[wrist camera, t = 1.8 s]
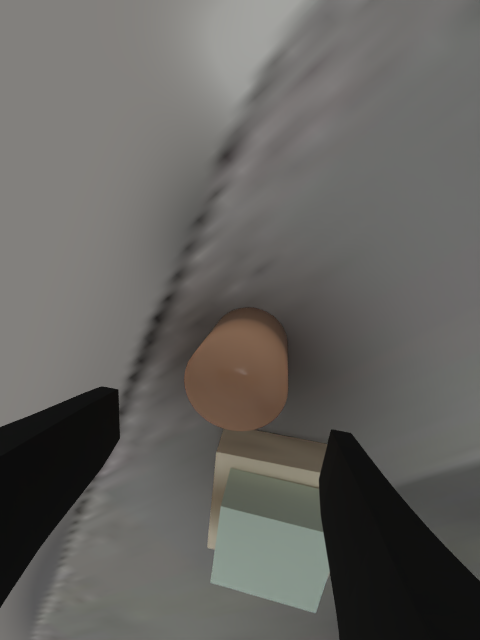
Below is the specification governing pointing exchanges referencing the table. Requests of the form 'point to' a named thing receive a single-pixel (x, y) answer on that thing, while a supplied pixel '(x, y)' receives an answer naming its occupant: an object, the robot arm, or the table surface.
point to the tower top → (271, 540)
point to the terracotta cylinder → (240, 371)
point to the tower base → (263, 463)
